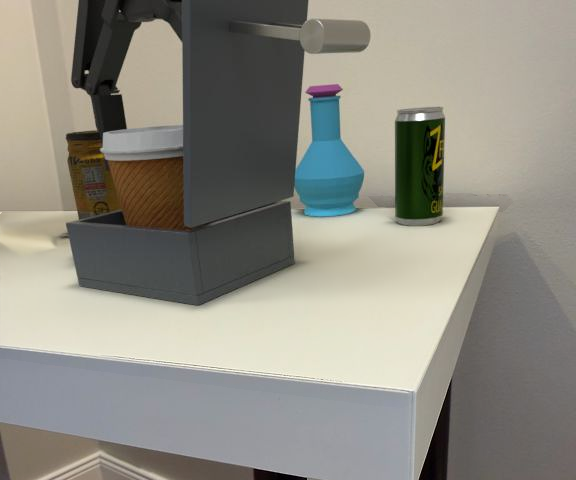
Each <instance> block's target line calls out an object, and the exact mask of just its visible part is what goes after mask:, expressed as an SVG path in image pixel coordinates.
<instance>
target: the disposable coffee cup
mask: <svg viewBox="0 0 576 480" xmlns="http://www.w3.org/2000/svg"><path fill="white" fill-rule="evenodd" d="M100 151H101V152H102V153H104V157H105V159H106V160H108V164H109V167H110V171H111V174H112V178H113V181H114V185H115V188H116V192H117V194H118V199H119V201H120V205H121V208H122V212H123V215H124V219H125V222H126V226H138V227H151V228H163V229H176V230H191V229H194V228H197V227H201V226H204V225H205V224H202V225H199V226H196V227H192V228H190V227H187V226H184V179H183V124H175V125H159V126H146V127H137V128H136V127H135V128H127V129H125V130H117V131H110V132H105V133H103V148H101V149H100Z"/></svg>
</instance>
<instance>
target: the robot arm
mask: <svg viewBox="0 0 576 480" xmlns="http://www.w3.org/2000/svg"><path fill="white" fill-rule="evenodd" d="M156 20H162V21H164V22H166V23H168V24H169V26H170V27H171V29H172V30H173V31H174V33H175V35H176V36H177V38H178V39H179V41H180V42H181V43H182V0H78V3H77V15H76V25H75V32H74V33H75V35H74V45H73V55H72V64H71V65H72V66H71V75H70V82H71V85H72V87H73V88H74V89H81V90H83V91H85V92H86V94H87V95H88V96H89V97H90V100H91V107H92V112H93V118H94V124H95V128H96V130H98V132H100V138H101V144H102V148H103V133H105V132H110V131H117V130H125V129H128V125H127V119H126V114H125V107H124V100H123V94H122V93H120V91H121V89H119V88H118V87H117V84H118V81H119V78H120V74H121V71H122V70H123V65H124V63H125V60H126V57H127V55H128V51H129V48H130V44H131V42H132V40H133V37H134V33H135V31H136V30H138V29H139V28H140V27H141V25H142V23H151V22H154V21H156ZM86 71H88V73H86ZM103 156H104V153H103ZM104 162H105V168H106V171H110V167H109V164H108V160H106V159H105V157H104Z"/></svg>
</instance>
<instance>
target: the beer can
mask: <svg viewBox="0 0 576 480" xmlns="http://www.w3.org/2000/svg"><path fill="white" fill-rule="evenodd" d="M396 114H397V115H396V117H395V120H394V217H395V219H396V222H397V223H398V224H399V225H403V226H412V227H413V226H414V227H415V226H416V227H418V226H430V225H435V224H438V223H439V222H441V219H442V217H443V215H444V183H445V182H444V181H445V179H444V178H445V177H444V176H445V142H446V141H445V140H446V139H445V138H446V115H445V114H444V106H426V107H425V106H424V107H411V108H403V109H397V110H396Z"/></svg>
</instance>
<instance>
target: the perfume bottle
mask: <svg viewBox="0 0 576 480" xmlns="http://www.w3.org/2000/svg"><path fill="white" fill-rule="evenodd" d="M342 91H344V88H342V86H341V85H340V84H338V83H335V84H322V85H321V84H320V85H312V86H308V88H307V89H306V90H305V92H304V93H305V94H307V95H309V96H311V97H308V98H307V100H308V102H309V107H310V109H309V110H310V124H311V125H310V126H311V142H310V144H309V146H308V148H306V149H307V150H306V151H305V152H304V154H303V157H302V159H301V160H300V161H299V163H298V165H296V171H295V184H294V191H295V192H296V194H297V196H298V197H299V202H300V203H301V204H302V205H304V206H305V208H304V212H303V213H304V215H306V216H310V217H336V216H337V217H338V216H344V215H348V214H351V213H354V212H356V206H355V205H354V202H356V201H357V199H359V195H360V191H361V189H362V187H363V183H364V179H365V170H364V168H363V167H362V165H361V164H360V163H359V162H358V160H357V158H355V156H354V155H353V154H352V153H351V151H350V150H349V148H348V147H347V146H346V144H345V142H344V141H343V139H342V137H341V115H340V114H341V113H340V111H341V110H340V99H341V95H337V94H339V93H341V92H342Z"/></svg>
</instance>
